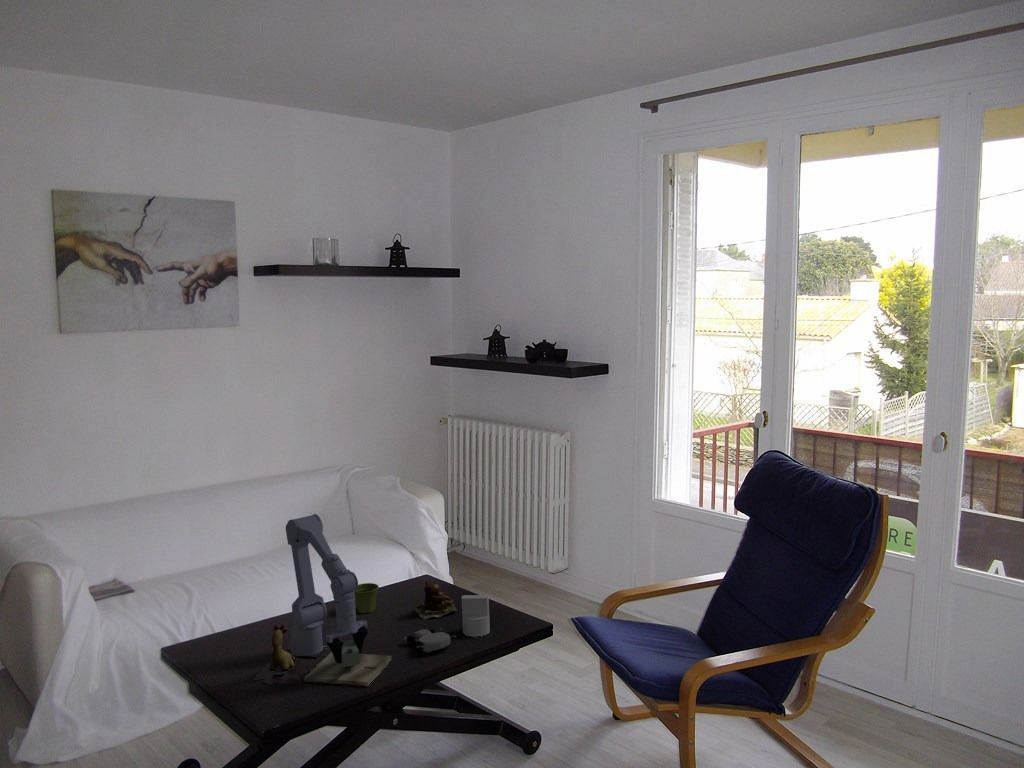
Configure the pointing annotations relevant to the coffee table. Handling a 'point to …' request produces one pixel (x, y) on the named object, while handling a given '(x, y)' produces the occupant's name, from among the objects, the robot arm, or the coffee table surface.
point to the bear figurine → (435, 603)
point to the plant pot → (366, 597)
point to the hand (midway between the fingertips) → (348, 657)
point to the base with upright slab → (475, 615)
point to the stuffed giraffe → (280, 652)
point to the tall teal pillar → (350, 654)
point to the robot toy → (430, 640)
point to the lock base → (349, 670)
